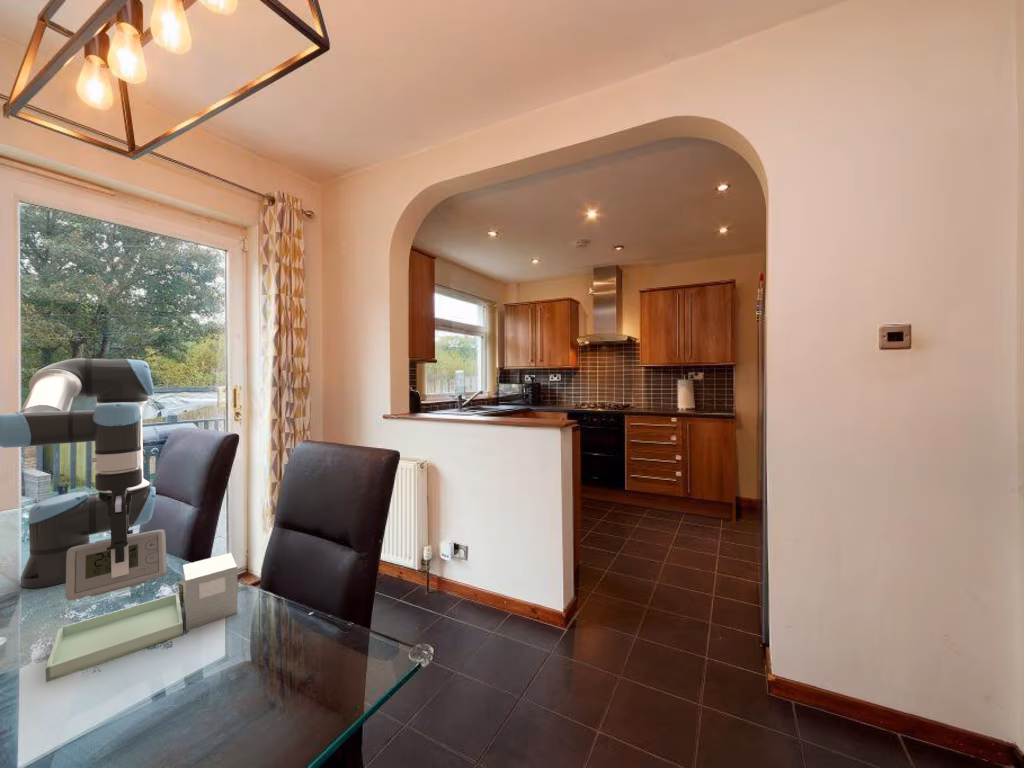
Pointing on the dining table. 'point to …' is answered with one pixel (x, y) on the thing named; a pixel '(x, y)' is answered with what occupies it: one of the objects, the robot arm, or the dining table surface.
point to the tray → (114, 635)
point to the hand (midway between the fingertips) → (121, 569)
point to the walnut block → (181, 591)
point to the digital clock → (93, 565)
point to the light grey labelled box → (209, 590)
